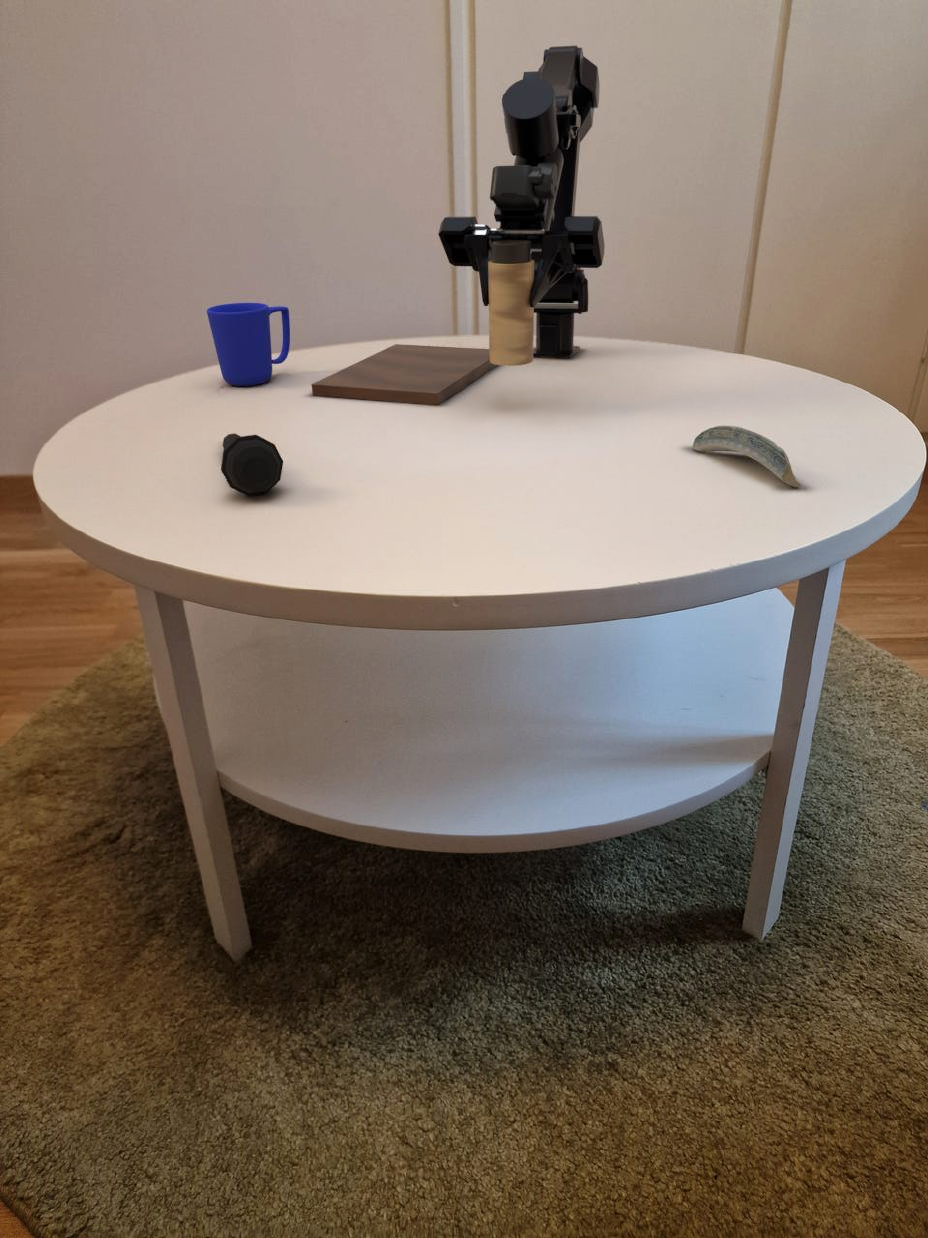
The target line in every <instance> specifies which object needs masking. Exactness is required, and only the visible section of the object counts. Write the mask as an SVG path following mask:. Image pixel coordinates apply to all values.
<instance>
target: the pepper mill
mask: <svg viewBox="0 0 928 1238" xmlns="http://www.w3.org/2000/svg"><path fill="white" fill-rule="evenodd" d="M491 248H492V260H491V261H489V262H488V288H489V304H488V340H489V341H488V345H489V346H488V349H489V358H490V362H491V363H492V364H496V366H503V367H504V366H505V367H516V366H517V367H518V366H524V365H528V364H531V363H533V362H534V356H533V349H534V332H535V331H534V327H535V325H534V323H535V318H534V317H535V313H534V307H530V304H529V300H530V293H531V288H532V285H533V281H534V260H531V241H528V240H501V241H494V242H492V243H491Z"/></svg>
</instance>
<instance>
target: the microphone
mask: <svg viewBox="0 0 928 1238" xmlns="http://www.w3.org/2000/svg"><path fill="white" fill-rule="evenodd" d="M222 447H223V451H222V457H221V466H220V470H221V473H222V475H223V477H224V478H225V480H226V482H227V484H228V485H229V487H230V489H233V490H234V491H237V492H239V493H241V494H243V495H244V496H247V497H250V496H259V495H264V494H268V493H269V492H270V491H271V490H272V489H273V488H274V487H275V486H276V485H277V484H278V483H279V482H281V479H282V472H283V466H284V460H283V458H282V456H281V454H280V452H279V450H278V448H277V446H276V444H275V443H274V442H271V441H269V440H268V439H266V438H264V437H261V436H259V434H249V435H239V434H237V433H228V434H227V435H226V436H224V438H223V441H222Z"/></svg>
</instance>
